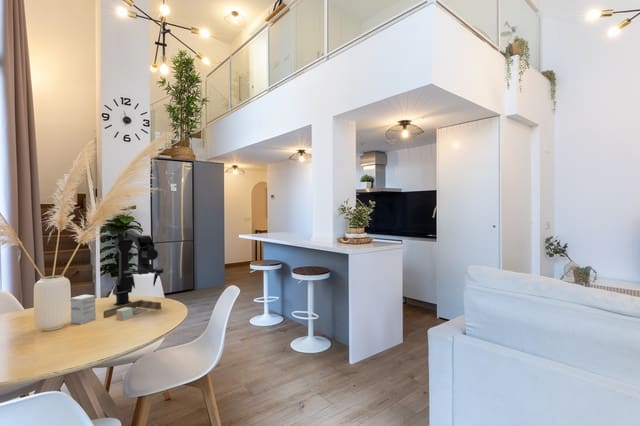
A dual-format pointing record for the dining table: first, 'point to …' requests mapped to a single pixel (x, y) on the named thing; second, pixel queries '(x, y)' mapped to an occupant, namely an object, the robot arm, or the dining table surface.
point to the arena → (133, 305)
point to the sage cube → (124, 313)
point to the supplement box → (82, 309)
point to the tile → (138, 310)
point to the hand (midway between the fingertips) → (144, 287)
